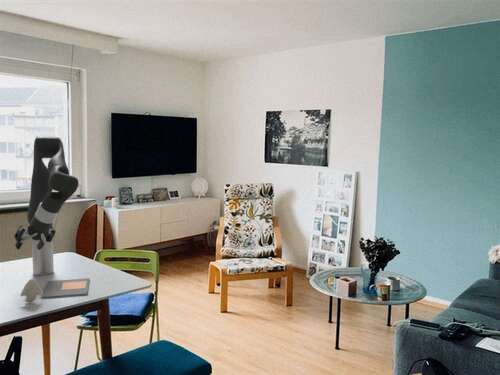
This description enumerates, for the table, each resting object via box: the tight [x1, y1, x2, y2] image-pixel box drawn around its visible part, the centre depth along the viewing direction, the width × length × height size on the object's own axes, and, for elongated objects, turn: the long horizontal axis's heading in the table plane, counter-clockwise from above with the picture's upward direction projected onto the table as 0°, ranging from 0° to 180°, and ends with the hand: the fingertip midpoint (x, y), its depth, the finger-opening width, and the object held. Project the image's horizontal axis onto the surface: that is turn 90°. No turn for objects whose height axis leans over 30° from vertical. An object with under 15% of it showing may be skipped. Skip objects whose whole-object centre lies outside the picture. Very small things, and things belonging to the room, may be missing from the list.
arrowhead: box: [20, 278, 43, 303], centre depth 183 cm, size 8×3×10 cm, turn 119°
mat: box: [40, 277, 90, 300], centre depth 200 cm, size 21×18×1 cm
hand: (27, 248), depth 180 cm, fingers open, 8 cm apart
